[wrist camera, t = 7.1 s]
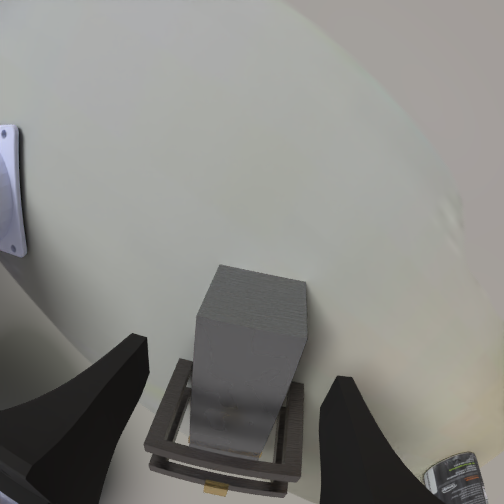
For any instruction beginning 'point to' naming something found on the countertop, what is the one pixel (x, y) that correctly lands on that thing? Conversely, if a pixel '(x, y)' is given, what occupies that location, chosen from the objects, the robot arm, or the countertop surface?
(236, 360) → the gray rectangular prism
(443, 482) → the pill bottle
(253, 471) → the bracket
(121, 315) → the countertop surface
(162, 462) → the dark grey rectangular frame
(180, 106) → the countertop surface
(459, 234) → the countertop surface
